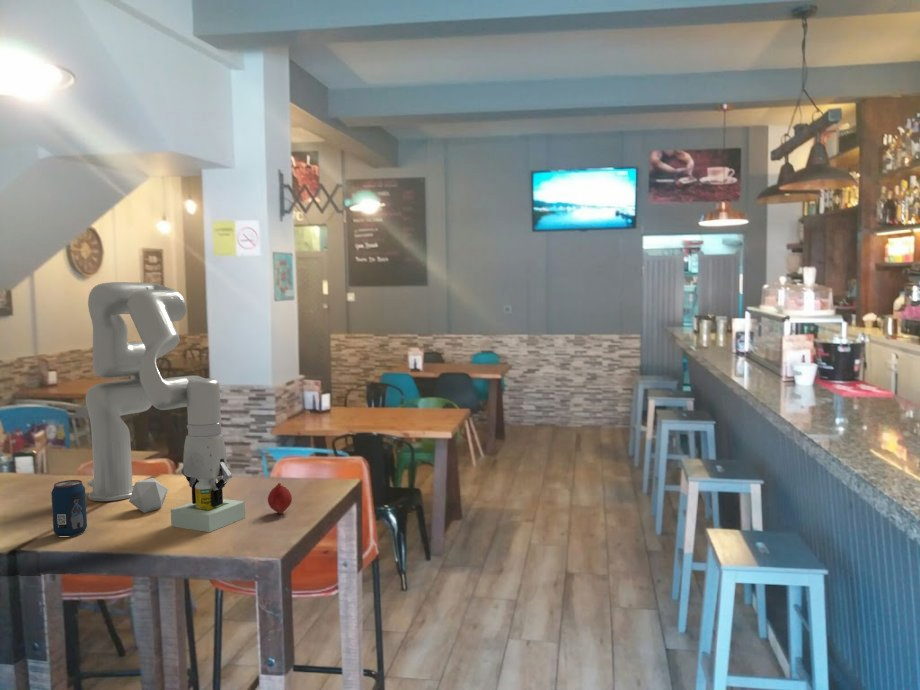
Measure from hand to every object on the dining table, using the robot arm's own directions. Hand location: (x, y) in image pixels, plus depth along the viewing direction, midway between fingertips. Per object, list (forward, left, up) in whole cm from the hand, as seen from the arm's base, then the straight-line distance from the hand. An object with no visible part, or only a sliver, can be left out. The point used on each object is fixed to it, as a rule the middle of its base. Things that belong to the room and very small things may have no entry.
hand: (207, 503), depth 177 cm
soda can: (-24, -19, -5) cm, 31 cm away
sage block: (0, 0, -5) cm, 5 cm away
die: (-22, +2, -5) cm, 22 cm away
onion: (+12, +12, -5) cm, 18 cm away
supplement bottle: (0, 0, -3) cm, 3 cm away
